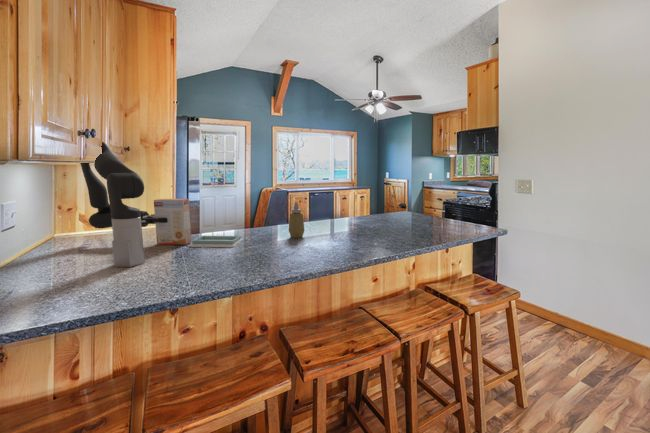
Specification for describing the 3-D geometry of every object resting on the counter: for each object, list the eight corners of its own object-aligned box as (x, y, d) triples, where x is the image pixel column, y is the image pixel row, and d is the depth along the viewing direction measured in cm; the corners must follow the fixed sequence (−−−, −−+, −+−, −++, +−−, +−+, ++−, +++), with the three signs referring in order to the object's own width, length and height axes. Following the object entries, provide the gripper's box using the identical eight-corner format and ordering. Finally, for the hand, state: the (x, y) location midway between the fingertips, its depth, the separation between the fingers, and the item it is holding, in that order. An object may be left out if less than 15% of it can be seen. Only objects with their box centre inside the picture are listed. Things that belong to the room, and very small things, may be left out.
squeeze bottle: (303, 238, 167) (303, 202, 164) (287, 238, 167) (287, 202, 165) (305, 235, 175) (304, 201, 172) (289, 235, 175) (289, 201, 173)
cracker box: (192, 242, 160) (189, 198, 156) (185, 245, 154) (182, 199, 150) (164, 241, 161) (160, 198, 158) (156, 244, 155) (152, 199, 152)
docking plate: (233, 247, 150) (233, 241, 149) (189, 246, 151) (189, 241, 150) (242, 240, 164) (242, 235, 163) (202, 240, 165) (202, 235, 164)
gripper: (125, 213, 149) (162, 213, 148) (144, 208, 163) (177, 209, 162) (126, 229, 150) (163, 229, 149) (145, 224, 164) (178, 224, 163)
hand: (170, 219), depth 156 cm, fingers closed on cracker box, 6 cm apart
